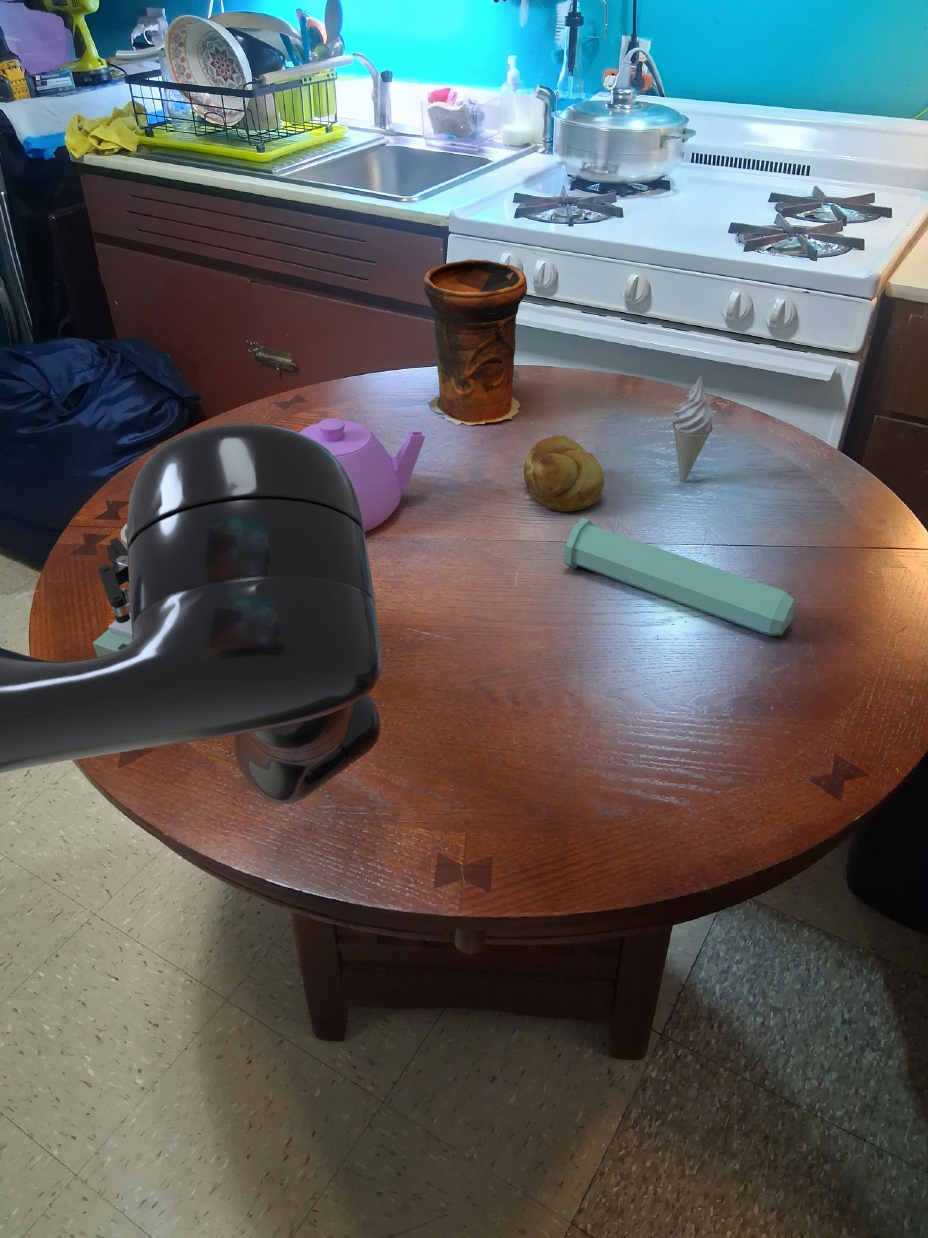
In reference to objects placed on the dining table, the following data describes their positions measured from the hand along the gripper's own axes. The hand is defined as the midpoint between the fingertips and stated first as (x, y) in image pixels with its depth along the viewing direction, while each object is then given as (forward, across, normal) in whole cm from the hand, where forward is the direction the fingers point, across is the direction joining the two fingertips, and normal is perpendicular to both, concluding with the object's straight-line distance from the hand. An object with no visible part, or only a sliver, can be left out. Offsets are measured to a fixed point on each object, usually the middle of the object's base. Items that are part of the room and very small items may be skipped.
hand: (149, 535), depth 85 cm
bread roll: (-3, -51, +12) cm, 53 cm away
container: (-27, -47, +12) cm, 55 cm away
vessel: (+24, -56, +12) cm, 62 cm away
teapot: (+11, -26, +12) cm, 31 cm away
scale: (-2, 0, +12) cm, 12 cm away
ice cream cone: (-10, -66, +12) cm, 68 cm away
